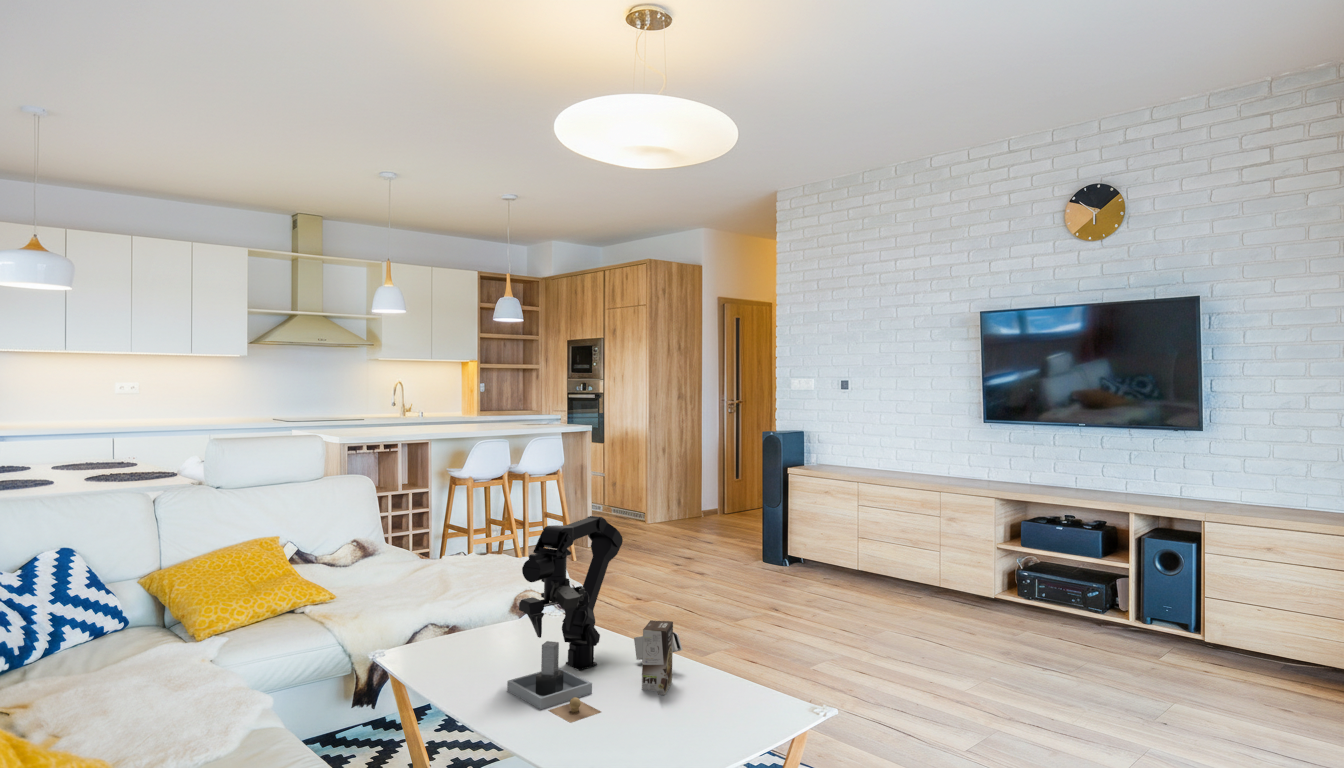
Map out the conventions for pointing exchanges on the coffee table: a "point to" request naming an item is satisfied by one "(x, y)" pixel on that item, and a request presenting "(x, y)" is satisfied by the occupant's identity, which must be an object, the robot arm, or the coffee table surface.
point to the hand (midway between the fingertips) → (554, 633)
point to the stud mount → (574, 710)
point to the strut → (549, 670)
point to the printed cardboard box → (639, 645)
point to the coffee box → (657, 656)
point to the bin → (571, 689)
